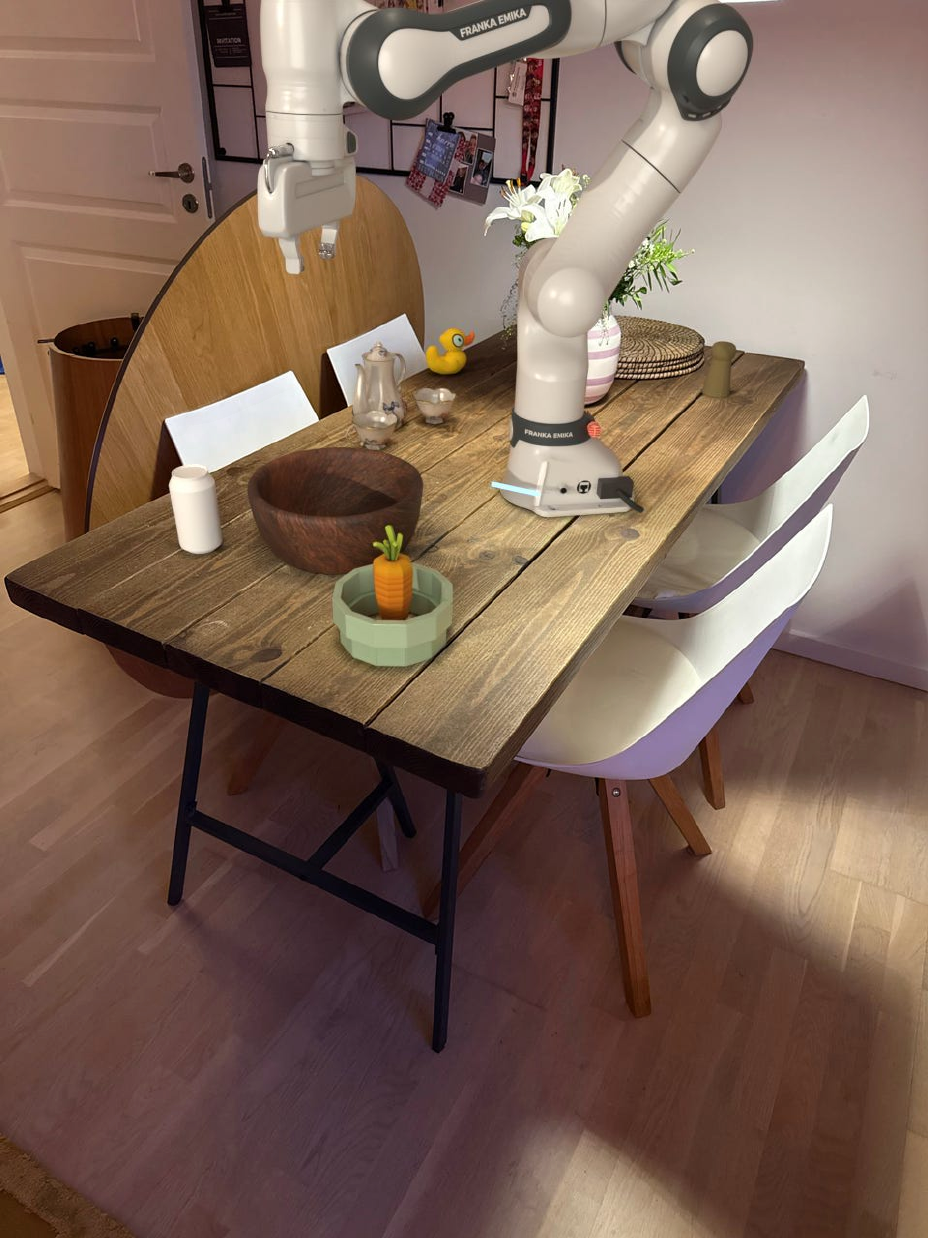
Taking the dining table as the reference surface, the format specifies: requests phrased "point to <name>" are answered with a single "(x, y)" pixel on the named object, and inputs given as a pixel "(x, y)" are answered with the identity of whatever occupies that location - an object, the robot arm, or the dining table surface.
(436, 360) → the duckling
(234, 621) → the dining table surface
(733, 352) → the olive brown knobbed cylinder
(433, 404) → the chinaware
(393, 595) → the carrot
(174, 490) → the beverage can
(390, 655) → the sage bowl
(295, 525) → the wooden bowl
